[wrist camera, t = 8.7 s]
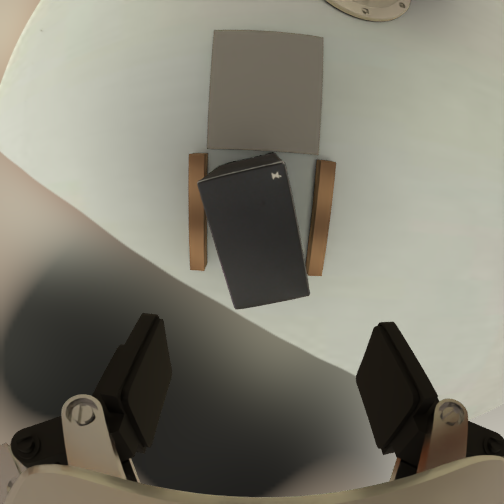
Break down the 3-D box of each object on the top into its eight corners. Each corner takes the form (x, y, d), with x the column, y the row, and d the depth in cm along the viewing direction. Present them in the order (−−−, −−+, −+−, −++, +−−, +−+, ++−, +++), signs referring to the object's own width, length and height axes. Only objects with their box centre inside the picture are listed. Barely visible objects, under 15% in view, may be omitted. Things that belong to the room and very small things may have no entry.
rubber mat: (214, 32, 22) (214, 30, 22) (322, 39, 22) (323, 37, 22) (207, 148, 27) (207, 148, 27) (317, 154, 27) (318, 155, 27)
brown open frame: (193, 153, 27) (188, 154, 25) (330, 161, 27) (336, 162, 26) (194, 262, 32) (190, 269, 30) (317, 268, 32) (321, 276, 30)
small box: (213, 166, 28) (190, 179, 18) (276, 151, 27) (288, 156, 18) (238, 259, 32) (231, 313, 22) (296, 247, 31) (314, 296, 21)
